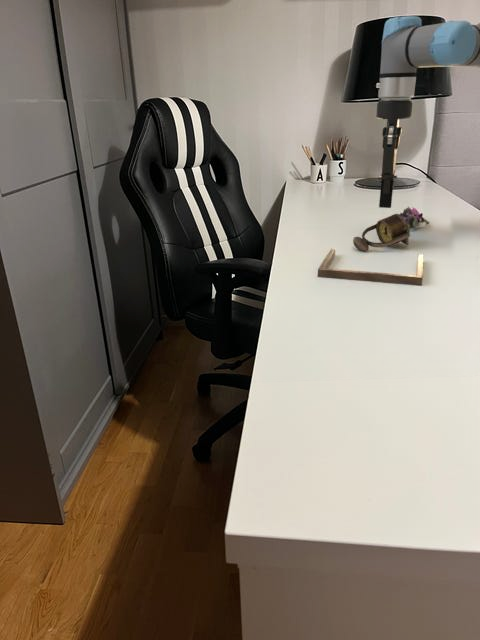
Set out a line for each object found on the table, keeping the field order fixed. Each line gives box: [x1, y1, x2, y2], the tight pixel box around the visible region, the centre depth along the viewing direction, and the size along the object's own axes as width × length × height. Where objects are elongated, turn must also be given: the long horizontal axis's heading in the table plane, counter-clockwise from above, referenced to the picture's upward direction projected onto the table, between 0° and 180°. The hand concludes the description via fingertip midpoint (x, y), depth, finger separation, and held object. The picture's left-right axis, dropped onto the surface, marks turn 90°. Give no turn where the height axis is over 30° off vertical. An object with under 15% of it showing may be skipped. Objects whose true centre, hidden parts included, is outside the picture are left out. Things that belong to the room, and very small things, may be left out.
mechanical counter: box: [352, 213, 411, 252], centre depth 112 cm, size 7×13×10 cm
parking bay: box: [317, 248, 424, 286], centre depth 99 cm, size 19×14×2 cm
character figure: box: [399, 206, 430, 229], centre depth 131 cm, size 9×4×16 cm
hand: (385, 206), depth 120 cm, fingers closed
